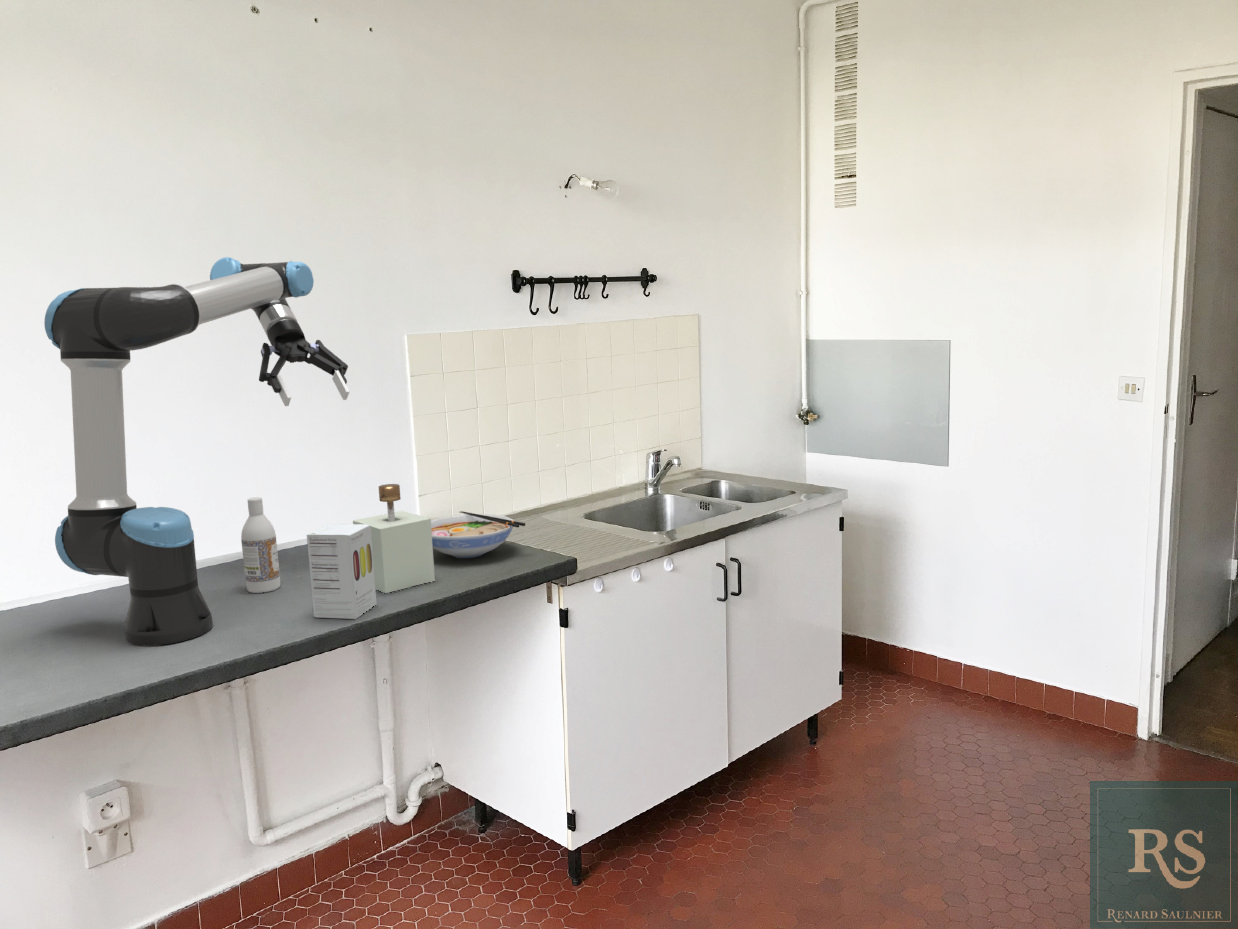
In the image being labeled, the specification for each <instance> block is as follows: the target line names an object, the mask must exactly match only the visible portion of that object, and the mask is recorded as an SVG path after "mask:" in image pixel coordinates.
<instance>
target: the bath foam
mask: <svg viewBox="0 0 1238 929" xmlns="http://www.w3.org/2000/svg"><path fill="white" fill-rule="evenodd" d="M247 507H248V509H247V510H248V515H249V516H248V518H247V519H246V521H245V522H244V525H243V526H242V529H241V534H240V535H241V537H240V540H241V541H240V542H241V548H242V550H241V551H242V559H243V570H244V579H245V586H246V588H245V589H246V590H247V592H249V593H253V594H259V593H260V594H261V593H263V592H264V593H269V592H273V591H275V590H278V589H279V588H280V587H281V574H280V566H279V565H280V564H279V557H278V556H279V555H278V545H277V544H278V543H277V534H276V530H275V527H274V525H273V524H272V523H271V521H270V520H269V519H268V518H267V516H266V515H265V514H264V506H263V498H262V496H261V497H259V496H256V497H249V498H247ZM264 593H263V594H264Z"/></svg>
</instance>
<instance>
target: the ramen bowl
mask: <svg viewBox="0 0 1238 929" xmlns="http://www.w3.org/2000/svg"><path fill="white" fill-rule="evenodd" d="M459 513H460V514H457V515H453V516H445V517H444V516H443V517H439V518H436V519H431V532H432V546H433V550H436V551H438V552H440V553H442V554H444V555H449V556H453V557H454V558H457V559H472V558H473V559H474V558H478V557H481V556H483V555H484V554H486V553H489V552H490V551H493V550H494V549H497V548H498V547H499V546H501V545H502V544H503V543H504V542H505V541H506V540H507V538H508V537H509V535H510V534H511V532H512V531H513V529H514V528H520V527H525V526H526V522H521V521H516V520H514V519H513V518H510V517H508V516H507V515H506V516H505V515H497V514H485V513H473V512H467V511H464V510H463V511H462V510H461V511H459Z"/></svg>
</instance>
